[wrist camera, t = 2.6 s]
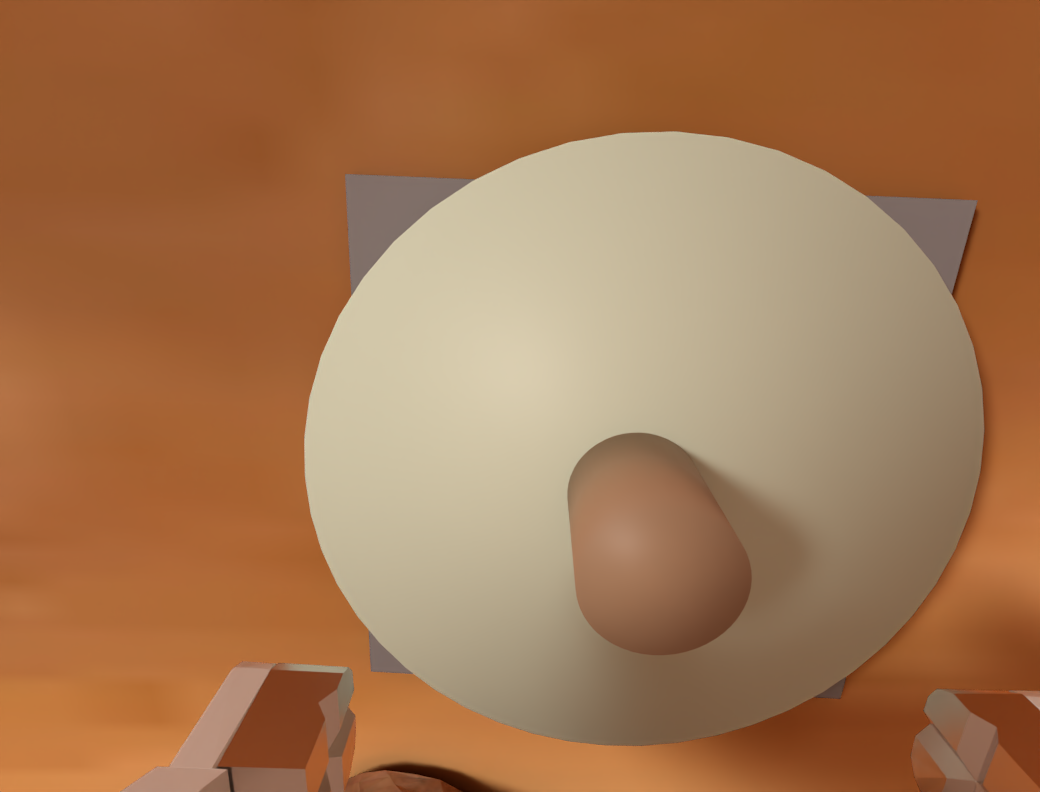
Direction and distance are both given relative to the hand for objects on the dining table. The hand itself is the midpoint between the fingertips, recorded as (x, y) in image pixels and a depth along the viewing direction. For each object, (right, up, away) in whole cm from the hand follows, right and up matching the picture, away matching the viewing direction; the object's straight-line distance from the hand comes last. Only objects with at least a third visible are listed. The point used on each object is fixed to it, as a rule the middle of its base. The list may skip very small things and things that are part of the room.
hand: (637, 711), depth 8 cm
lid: (+1, +2, +7) cm, 7 cm away
